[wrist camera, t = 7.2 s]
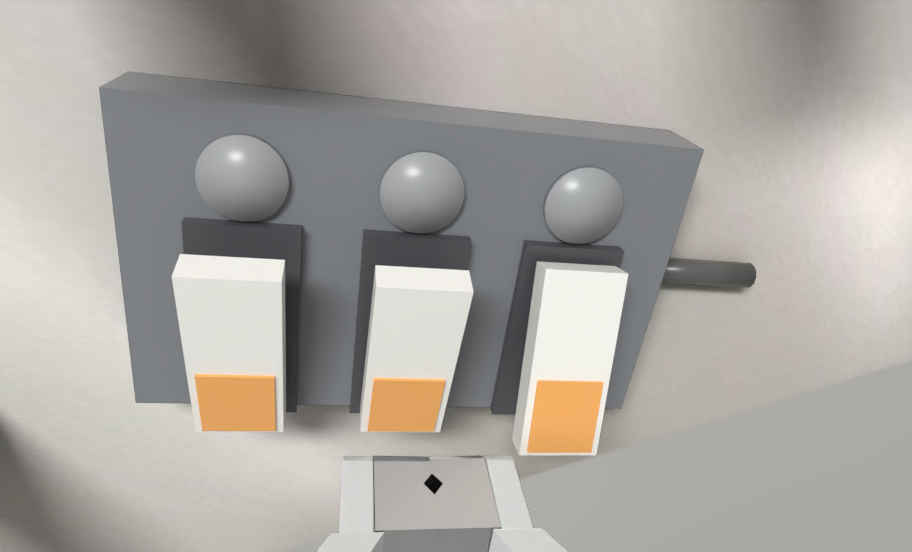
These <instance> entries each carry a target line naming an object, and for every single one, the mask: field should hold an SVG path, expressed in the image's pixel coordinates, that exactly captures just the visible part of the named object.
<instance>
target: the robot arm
mask: <svg viewBox="0 0 912 552" xmlns="http://www.w3.org/2000/svg"><path fill="white" fill-rule="evenodd" d="M316 552H568V551H567V550H566V549H565V548H564V547H562V545H560V544H559V543H558V542H557V541H556V540H555V539H554V538H553V537H552V536H551V535H549V534H548V533H547V532H546V531H545V530H544V529H543V528H534V526H533V523H532V520H531V516H530V513H529V509H528V506H527V503H526V500H525V496H524V493H523V489H522V486H521V483H520V479H519V476H518V473H517V469H516V466H515V463H514V459H513V458H512V457H511V456H510V455H483V456H428V457H413V456H373V459H372V457H371V456H343V461H342V477H341V499H340V521H339V533H330V535H329V536H328V537H327V538H326V539H325V541H324V542H323V543H322V544H321V546H320V547H319V548H318V549H317V551H316Z"/></svg>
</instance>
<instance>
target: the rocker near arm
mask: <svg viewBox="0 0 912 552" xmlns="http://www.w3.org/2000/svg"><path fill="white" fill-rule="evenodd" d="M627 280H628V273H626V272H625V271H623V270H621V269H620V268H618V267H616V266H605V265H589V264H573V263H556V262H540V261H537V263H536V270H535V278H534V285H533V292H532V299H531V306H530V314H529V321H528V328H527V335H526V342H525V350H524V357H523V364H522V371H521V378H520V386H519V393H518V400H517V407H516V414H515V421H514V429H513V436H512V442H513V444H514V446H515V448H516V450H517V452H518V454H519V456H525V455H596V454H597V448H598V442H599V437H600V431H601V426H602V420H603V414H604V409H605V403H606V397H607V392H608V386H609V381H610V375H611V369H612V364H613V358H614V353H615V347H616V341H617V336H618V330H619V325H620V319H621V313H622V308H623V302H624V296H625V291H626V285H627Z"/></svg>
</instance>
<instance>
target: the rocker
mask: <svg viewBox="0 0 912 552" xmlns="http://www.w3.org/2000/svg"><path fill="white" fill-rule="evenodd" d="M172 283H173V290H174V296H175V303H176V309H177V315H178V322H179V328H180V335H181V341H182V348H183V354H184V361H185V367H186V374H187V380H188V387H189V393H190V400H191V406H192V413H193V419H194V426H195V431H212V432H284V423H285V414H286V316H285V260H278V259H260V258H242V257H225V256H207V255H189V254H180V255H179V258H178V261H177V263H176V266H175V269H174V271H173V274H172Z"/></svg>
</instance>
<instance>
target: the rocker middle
mask: <svg viewBox="0 0 912 552" xmlns="http://www.w3.org/2000/svg"><path fill="white" fill-rule="evenodd" d="M472 297H473V287H472V282H471V277H470V273H469V270H452V269H434V268H416V267H399V266H381V265H375V274H374V283H373V293H372V302H371V311H370V320H369V330H368V339H367V348H366V358H365V367H364V376H363V386H362V395H361V404H360V432H440V429H441V425H442V421H443V417H444V413H445V409H446V405H447V400H448V396H449V392H450V388H451V384H452V380H453V375H454V371H455V367H456V363H457V359H458V355H459V351H460V346H461V342H462V338H463V334H464V330H465V326H466V321H467V317H468V313H469V309H470V305H471V301H472Z"/></svg>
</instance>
